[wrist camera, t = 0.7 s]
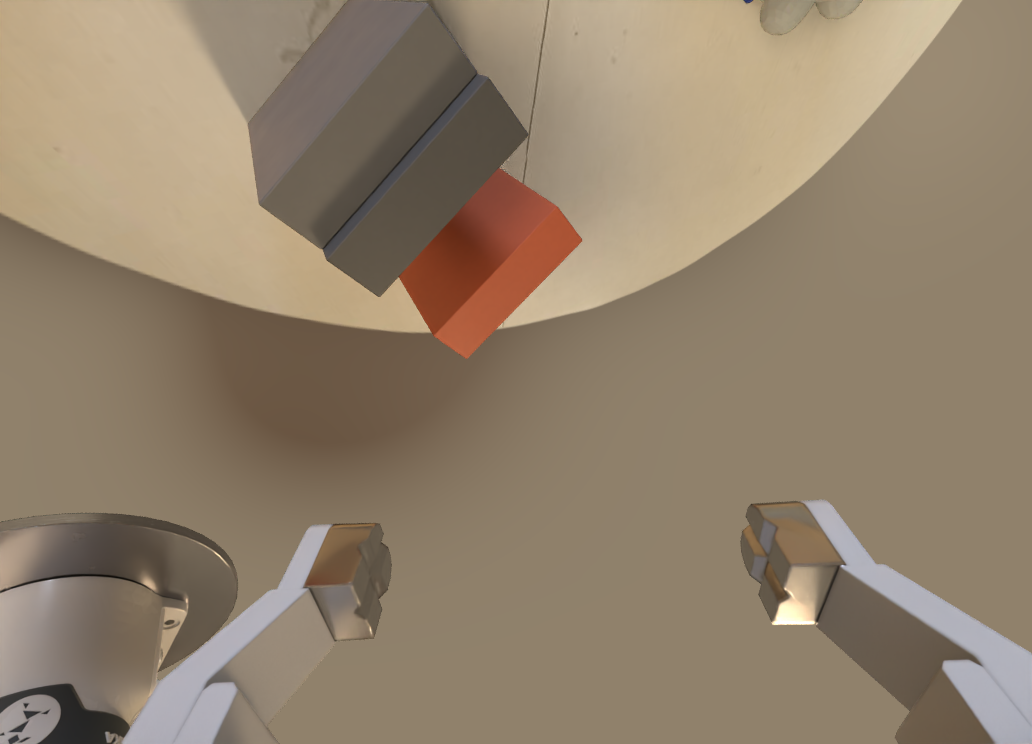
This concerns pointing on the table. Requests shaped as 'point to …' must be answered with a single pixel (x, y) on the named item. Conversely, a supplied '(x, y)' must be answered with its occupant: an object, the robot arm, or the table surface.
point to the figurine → (799, 12)
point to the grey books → (379, 138)
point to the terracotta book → (487, 261)
